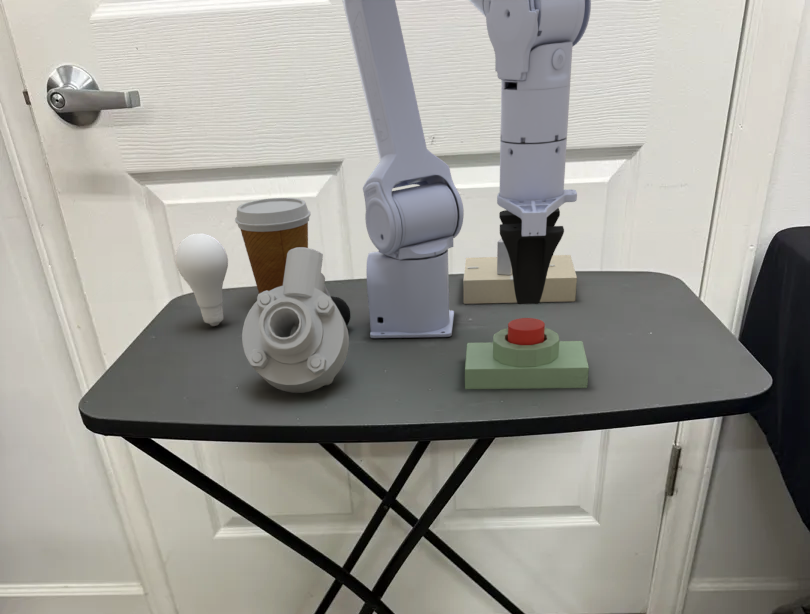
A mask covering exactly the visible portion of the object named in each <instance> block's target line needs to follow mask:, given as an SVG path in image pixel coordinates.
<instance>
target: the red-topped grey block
mask: <svg viewBox="0 0 810 614" xmlns="http://www.w3.org/2000/svg"><path fill="white" fill-rule="evenodd" d="M496 245H497V247H496V249H497V253H496V257H497V274H499V275H511V274H512V267H511V262H510V258H509V255H508V252H507V249H506V247H505V244H504V242H503V240H502V238H501V237H500V238H499V240H498V241H497V244H496Z"/></svg>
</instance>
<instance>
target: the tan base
mask: <svg viewBox="0 0 810 614" xmlns="http://www.w3.org/2000/svg"><path fill="white" fill-rule="evenodd" d="M463 270H464V272H463V279H462V281H463V282H462V283H463V285H462V286H463V290H462V291H463V304H464V305H471V304H472V305H475V304H478V305H479V304H516V303H517V300H516V295H515V290H514V282H513V274H511V275H499V274H497V256H486V257H485V256H483V257H479V256H478V257H466V258H465V261H464V269H463ZM577 282H578V277H577V273H576V269H575V267H574V263H573V258H572V255H571V254H556V255H554V254H553V256H552V259H551V261H550V265H549V268H548V272H547V276H546V281H545V285H544V290H543V293H542V297H541V300H540V303H562V302H565V303H566V302H568V303H569V302H576V297H577ZM517 304H518V303H517Z"/></svg>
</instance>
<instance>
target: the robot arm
mask: <svg viewBox="0 0 810 614" xmlns="http://www.w3.org/2000/svg"><path fill="white" fill-rule="evenodd" d="M341 1H342V6H343V10H344V14H345V18H346V21H347V23H346V24H347V26H348V32H349V36H350V40H351V44H352V48H353V53H354V57H355V61H356V65H357V69H358V74H359V78H360V82H361V87H362V90H363V91H362V92H363V97H364V101H365V104H366V108H367V112H368V113H367V114H368V117H369V122H370V126H371V129H372V134H373V138H374V139H373V140H374V143H375V147H376V152H377V155H378V160H379V162H378V164H377V165H376V166H375V168H374V169H373V171H372V172H371V174H370V175H369V176H368V178H367V179H366V180H365V183H364V184H363V186H362V193H363V197H364V198H363V199H364V205H365V214H364V215H365V219H364V220H365V227H366V231H367V234H368V236H369V239H370V241H371V243H372V244H373V246H374V247H375V248H376V250H378V251H369V253H368V254H367V256H366V257H367V258H366V271H365V272H366V273H365V275H366V290H367V303H368V316H369V327H370V333H369V338H371V339H402V338H404V339H410V338H413V339H414V338H449V337H451V336H452V334H453V328H454V319H455V311H454V310H452V309H451V310H450V282H449V281H450V280H449V279H450V278H449V277H450V276H449V274H450V273H449V249H452V248H454V239H455V238H456V237H457V236H458V235H459V234H460V232H461V230H462V228H463V224H464V215H465V213H464V212H465V210H464V203H463V199H462V196H461V194H460V193H459V190H458V189H457V187H456V186H455V183H454V180H453V178H452V174H451V173H452V172H451V169H450V166H449V164H448V163H446V162H445V161H444V160H443V159H441V158H440V157H438V156H437V155H435V154H434V153H433V152H431V151H430V150H429V149H428V148H427V143H426V138H425V133H424V129H423V125H422V120H421V115H420V110H419V105H418V99H417V97H416V92H415V87H414V83H413V78H412V77H413V76H412V73H411V68H410V64H409V58H408V54H407V49H406V45H405V39H404V35H403V30H402V26H401V21H400V17H399V11H398V8H397V3H396V0H341ZM468 1H469V2H470V3H471V4H472V5H473V7H474V8H476V9H477V10H478V11H479V12H480V13H481V14H482V15H483V16H484V17H485V21H486V22H485V23H486V30H487V35H488V38H489V41H490V44H491V46H492V48H493V51H494V52H493V53H494V57H495V60H494V61H495V62H494V66H495V67H494V68H495V69H494V71H495V72H496V74H497V75H496V76H497V79H498V80H500V81H501V83H500V84H501V85H500V132H499V133H500V137H499V139H500V141H499V192H498V193H497V194H496V204H497V205H498V206H499V207H500V208H502V209H504V210H501V211H500V212H499V214H498V216H499V220H500V223H501V224H499V235H500V239H501V238H502V240H503V242H504V244H505V247H506V249H507V252H508V255H509V258H510V262H511V267H512V274H513V282H514V290H515V295H516V300H517V305H539V304H540V303H541V302H540V300H541V297H542V293H543V290H544V285H545V281H546V276H547V272H548V268H549V265H550V261H551V259H552V256H553V255H554V254H555V252H556V250H557V247H558V245H559V243H560V242H561V240H562V239H563V235H564V233H565V228H564V225H556V224H557V221H558V219H559V218H560V216H561V214H560V213H561V211H560V210H561V209H560V207H561V206H563V205H564V204H565V203H574V202H575V203H576V202H577V200H578V192H577V190H576V189H572V188H571V189H565V177H566V160H567V159H566V158H567V157H566V156H567V145H568V144H567V142H568V140H567V139H568V128H569V114H570V113H569V111H570V110H569V109H570V95H571V77H572V62H573V61H572V59H573V47H574V46H576V45H577V44H578V43H579V42H580V41H581V40H582V38H583V36H584V34H585V33H586V30H587V29H588V28H587V27H588V25H589V22H590V17H591V10H592V9H591V8H592V0H468ZM411 185H415V186H411ZM416 185H417V186H416ZM406 186H407V187H406ZM408 186H411V187H408ZM401 187H406V188H401ZM397 188H401V189H397ZM393 189H395V190H393Z"/></svg>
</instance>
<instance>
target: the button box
mask: <svg viewBox="0 0 810 614" xmlns="http://www.w3.org/2000/svg"><path fill="white" fill-rule="evenodd" d="M492 337H493V338H492V342H466V350H465V362H464V363H465V364H464V389H465V390H507V389H508V390H509V389H511V390H512V389H513V390H514V389H515V390H516V389H517V390H518V389H519V390H521V389H523V390H524V389H587V388H588V384H589V383H588V382H589V370H590V367H589V362H588V357H587V354H586V350H585V346H584V342H583V340H565V341H564V340H560V335H559V334H558V333H557V332H555V331H554V330H552V329H550V328H547V327H545V331H544V342H543V343H539V344H535V345H517V344H512V343H509V342H508V327H507V328H502V329H500V330H499V331H497V332H496V333H494V334H493V335H492Z"/></svg>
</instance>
